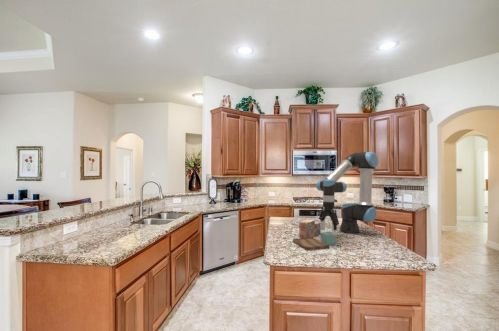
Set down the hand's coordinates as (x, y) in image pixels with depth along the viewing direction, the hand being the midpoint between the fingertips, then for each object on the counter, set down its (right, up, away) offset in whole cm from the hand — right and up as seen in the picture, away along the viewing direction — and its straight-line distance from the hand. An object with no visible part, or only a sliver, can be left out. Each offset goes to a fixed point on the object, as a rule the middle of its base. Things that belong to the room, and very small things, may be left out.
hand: (328, 232), depth 177 cm
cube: (0, -8, 0) cm, 8 cm away
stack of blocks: (-8, -8, +19) cm, 22 cm away
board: (-14, -8, -4) cm, 16 cm away
